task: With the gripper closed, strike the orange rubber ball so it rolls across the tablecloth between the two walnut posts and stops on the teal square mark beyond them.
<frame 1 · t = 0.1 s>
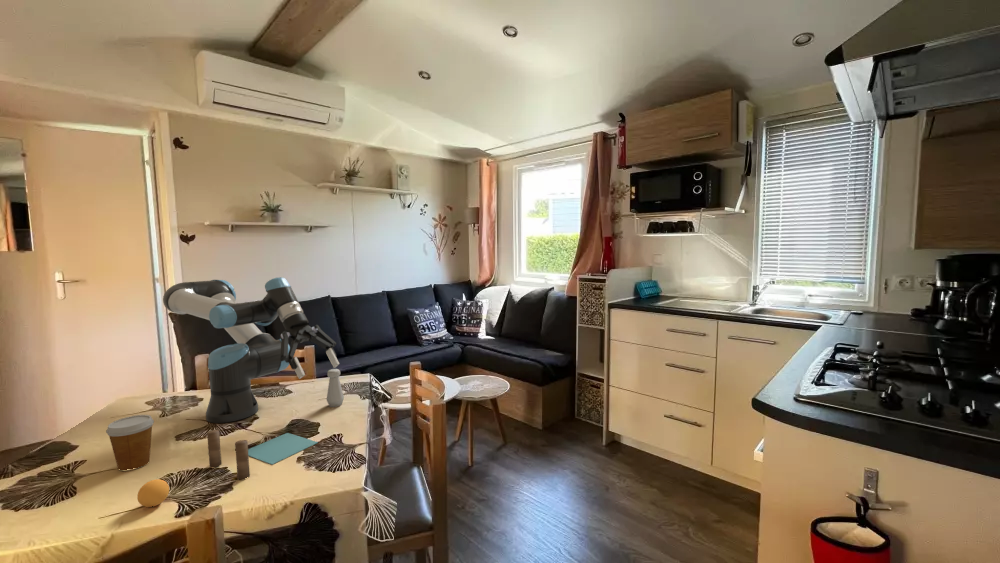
hand: (320, 371, 142), 15 cm above the table, tool tilted 35°, fingers open, 13 cm apart
outer post: (243, 477, 106), on the table
salt shaker: (335, 405, 153), on the table
disposable coffee cup: (134, 465, 112), on the table
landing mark: (280, 447, 121), on the table
inner post: (215, 465, 112), on the table
ball: (153, 492, 94), on the table
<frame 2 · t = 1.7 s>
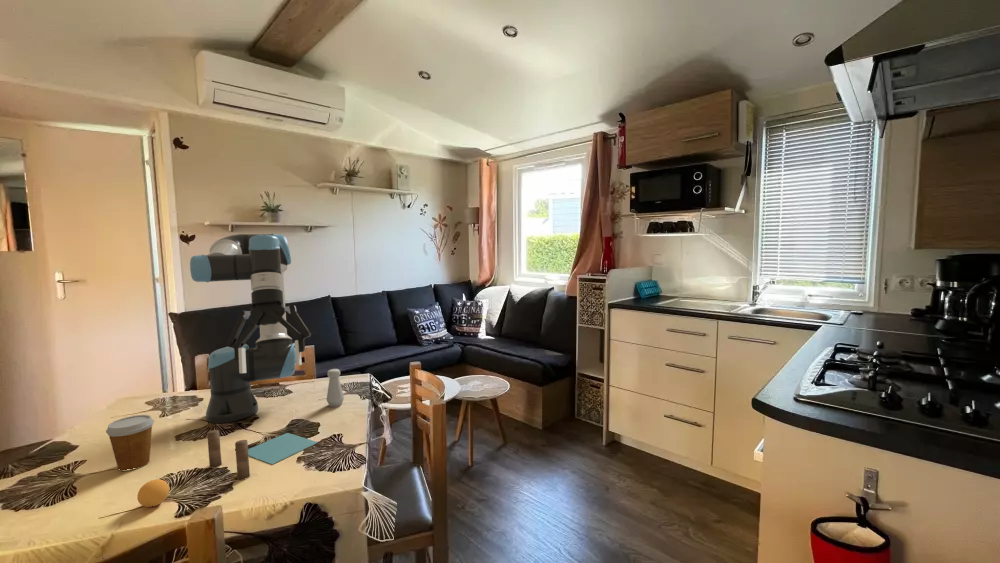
hand: (271, 369, 112), 25 cm above the table, tool tilted 20°, fingers open, 13 cm apart
nothing on the table moved.
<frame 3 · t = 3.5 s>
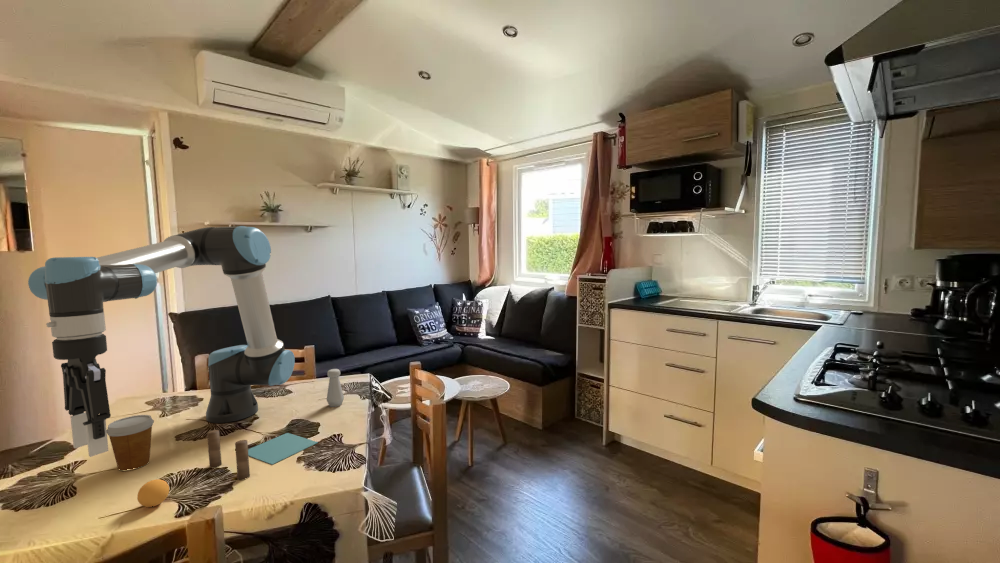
hand: (90, 449, 85), 17 cm above the table, tool pointing down, fingers open, 7 cm apart
nothing on the table moved.
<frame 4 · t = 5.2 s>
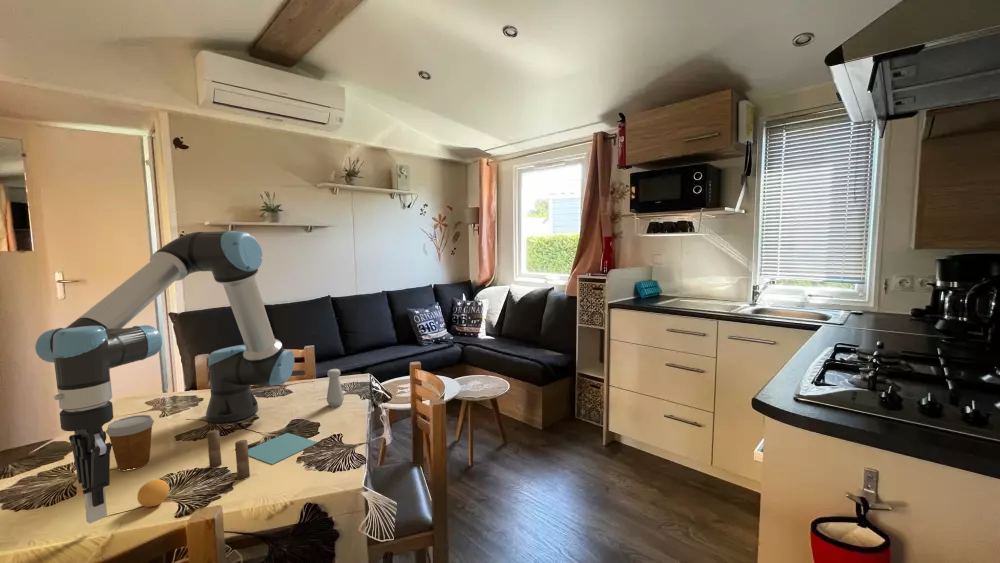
hand: (97, 518, 86), 2 cm above the table, tool pointing down, fingers closed
nothing on the table moved.
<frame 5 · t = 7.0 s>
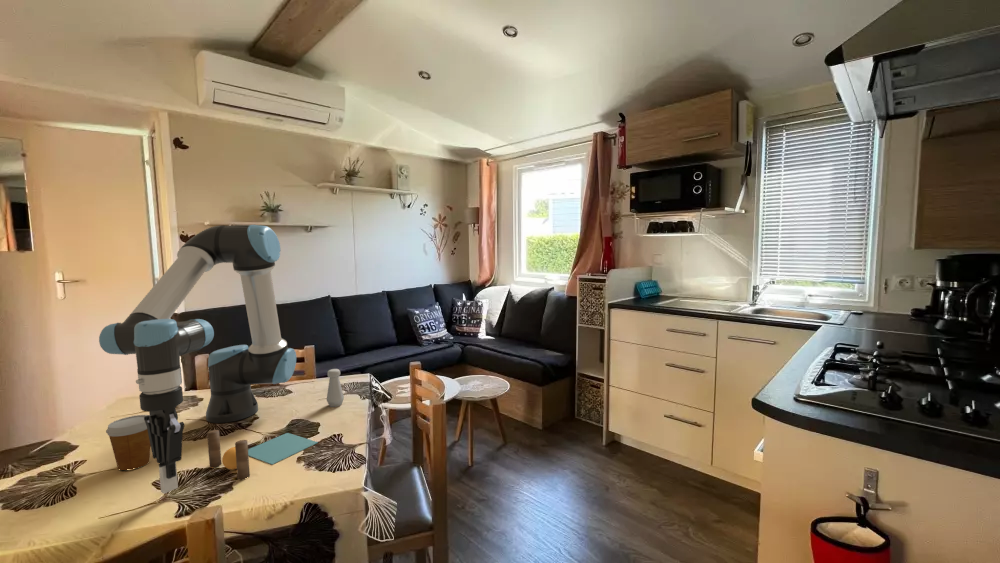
hand: (169, 489, 97), 2 cm above the table, tool pointing down, fingers closed
ball: (234, 457, 110), on the table
everything else where it was.
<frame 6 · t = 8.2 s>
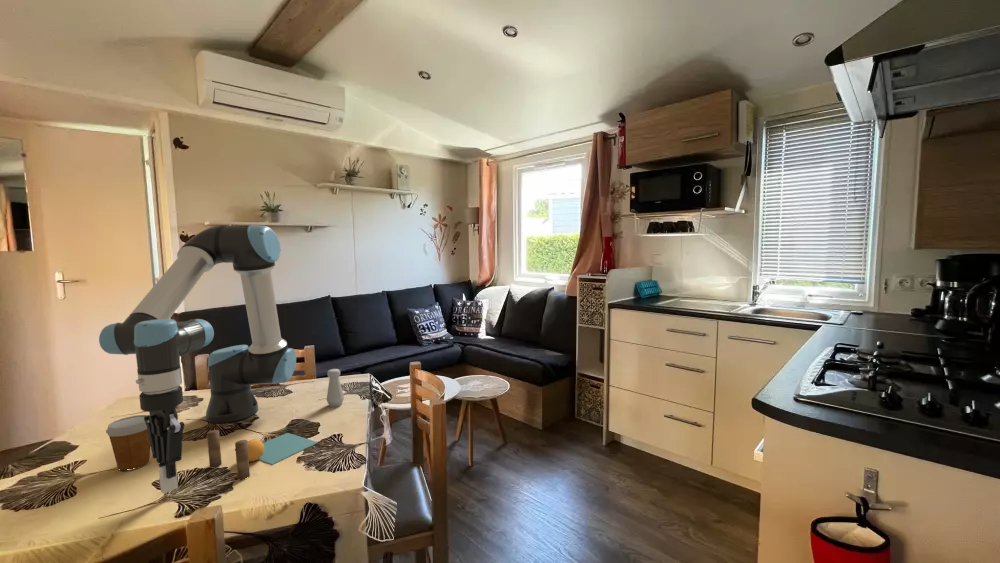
hand: (169, 489, 97), 2 cm above the table, tool pointing down, fingers closed
ball: (252, 450, 114), on the table
everything else where it was.
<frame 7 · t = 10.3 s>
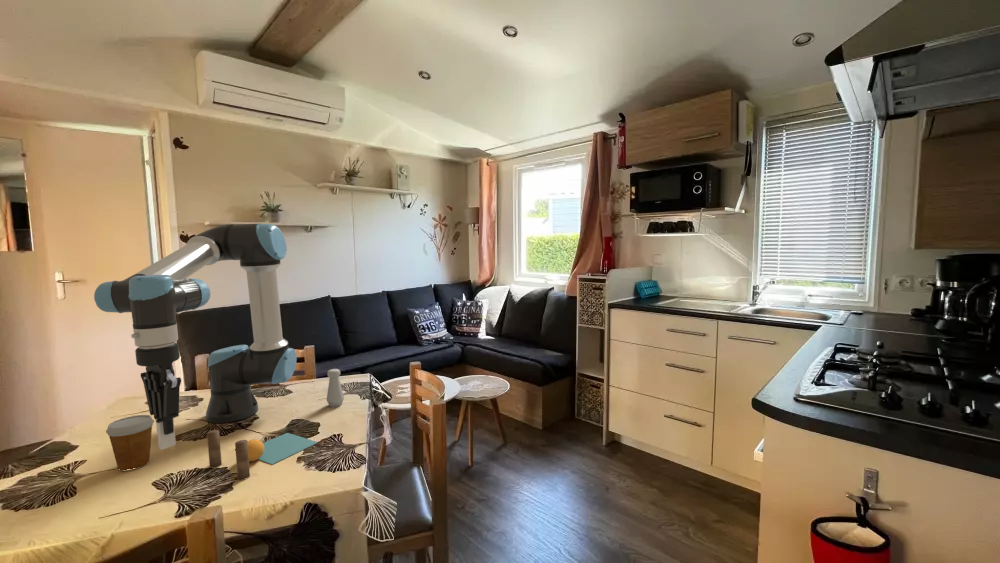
hand: (167, 446, 97), 12 cm above the table, tool pointing down, fingers closed
nothing on the table moved.
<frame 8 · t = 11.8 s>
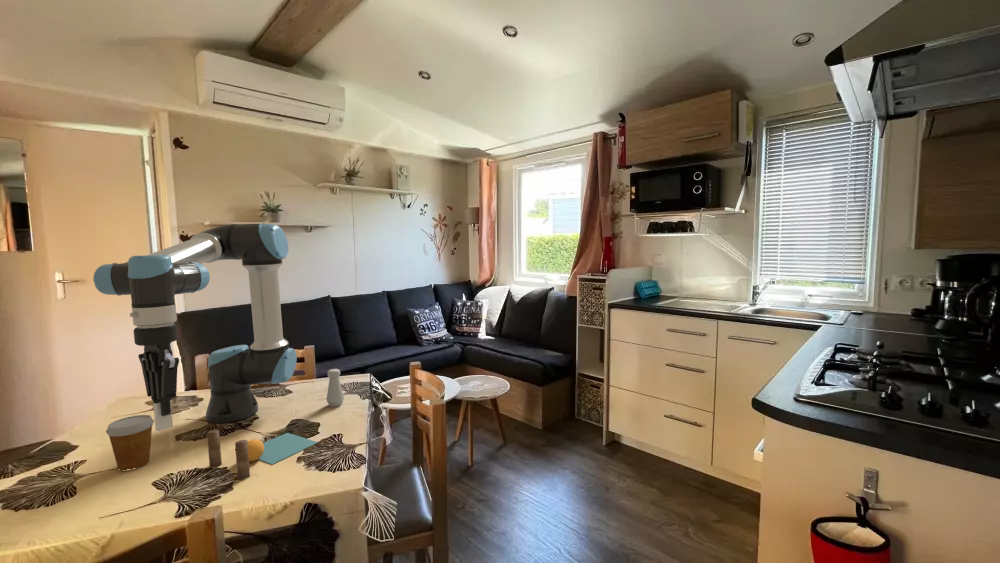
hand: (164, 428, 96), 16 cm above the table, tool pointing down, fingers closed
nothing on the table moved.
at the end: ball 7.8 cm from the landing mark (horizontally); ball never touched inner post; ball never touched outer post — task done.
